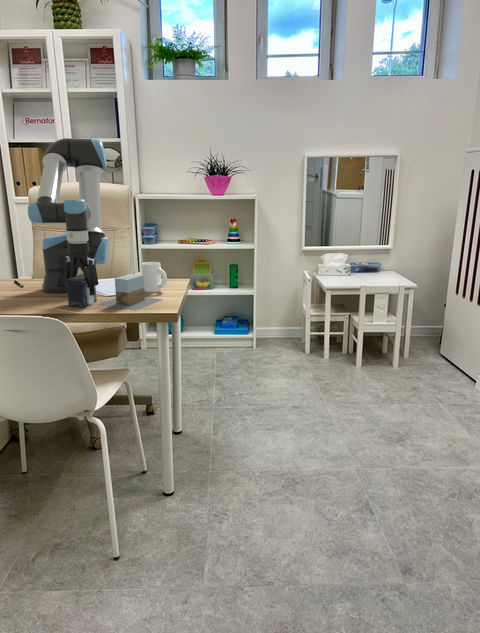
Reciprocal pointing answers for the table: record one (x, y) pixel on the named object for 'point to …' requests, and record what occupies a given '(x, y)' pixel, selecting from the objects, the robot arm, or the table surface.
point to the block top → (129, 283)
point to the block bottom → (130, 297)
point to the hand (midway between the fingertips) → (83, 302)
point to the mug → (153, 276)
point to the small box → (78, 291)
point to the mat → (132, 307)
